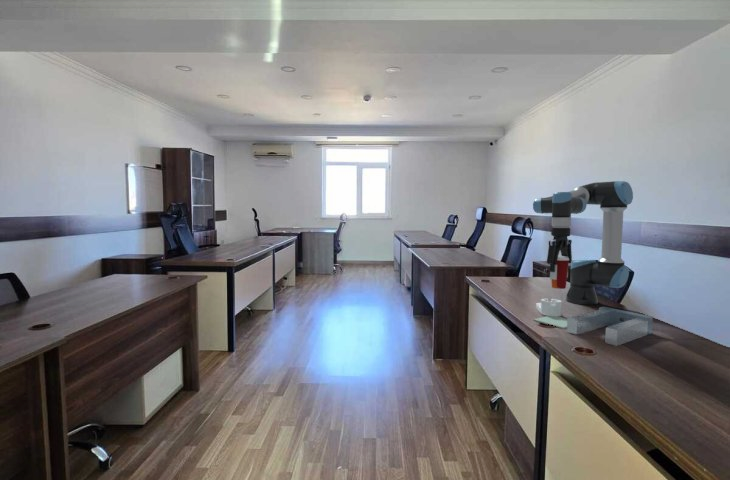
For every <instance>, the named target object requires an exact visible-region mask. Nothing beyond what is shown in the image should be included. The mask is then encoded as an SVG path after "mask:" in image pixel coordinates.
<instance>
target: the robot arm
mask: <svg viewBox="0 0 730 480" xmlns="http://www.w3.org/2000/svg"><path fill="white" fill-rule="evenodd" d="M633 197H634V191H633V188H632V186H631V184H630V183H629V182H628V181H625V180H623V181H622V180H615V181H602V182H601V181H599V182H597V181H596V182H591V183H588V184H587V183H586V184H584V185H581V186H577V187H575V188H573V190H570V191H556V192H553V193H552V195H551V196H548V197H537V198H535V199H534V200H533V202H532V209H533V211H534V213H535V214H536V213H537V214H542V215H543V214H551V226H552V227H551V230H550V235H551V236H552V237H553V239H552V240H549V241H548V250H547V251H548V252H547V258H546V263H547V265H549V266H550V267H549V280H551V279H554V280H557V265H556V262H557V258H558V256H567V257H569V263H568V264H570V268H569V269H570V280H569V283H570V284H569V289H568V291H567V293H566V296H565V301H566V302H568V303H571V304H572V303H573V304H578V305H587V306H588V305H590V306H591V305H597V304H598V303H599V302H598V297H597V292H596V289H595V286H603V287H609V288H616V289H617V288H618V289H619V288H623V287H624V286H625V285H626V283H627V281H628V279H629V277H630V270H629V269H630V268H629V267H628V266H627V265H625V261H624V260H623V259H622V247H623V246H622V245H623V230H624V229H623V228H624V226H623V225H624V224H623V223H624V211H625V210H627V209H628V205H631V203H633V199H634V198H633ZM588 205H597V206H598V205H599V208H600V210H601V211H603V213H602V215H603V216H602V236H601V238H602V239H601V257H599V259H597V261H596V259H578V260H577V259H576V260H573V258H572V257H573V256H572V255H573V254H572V243H573V242H572V239H568V237H570V236H571V228H570V227H571V225H572V224H571V223H572V222H571V221H572V218H571V217H572V214H574V215H576V214H577V215H578V214H582V213H583V212H584V211H585V210H586V209H587V206H588ZM560 254H561V255H560ZM568 276H569V271H568V272H567V279H568Z"/></svg>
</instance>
